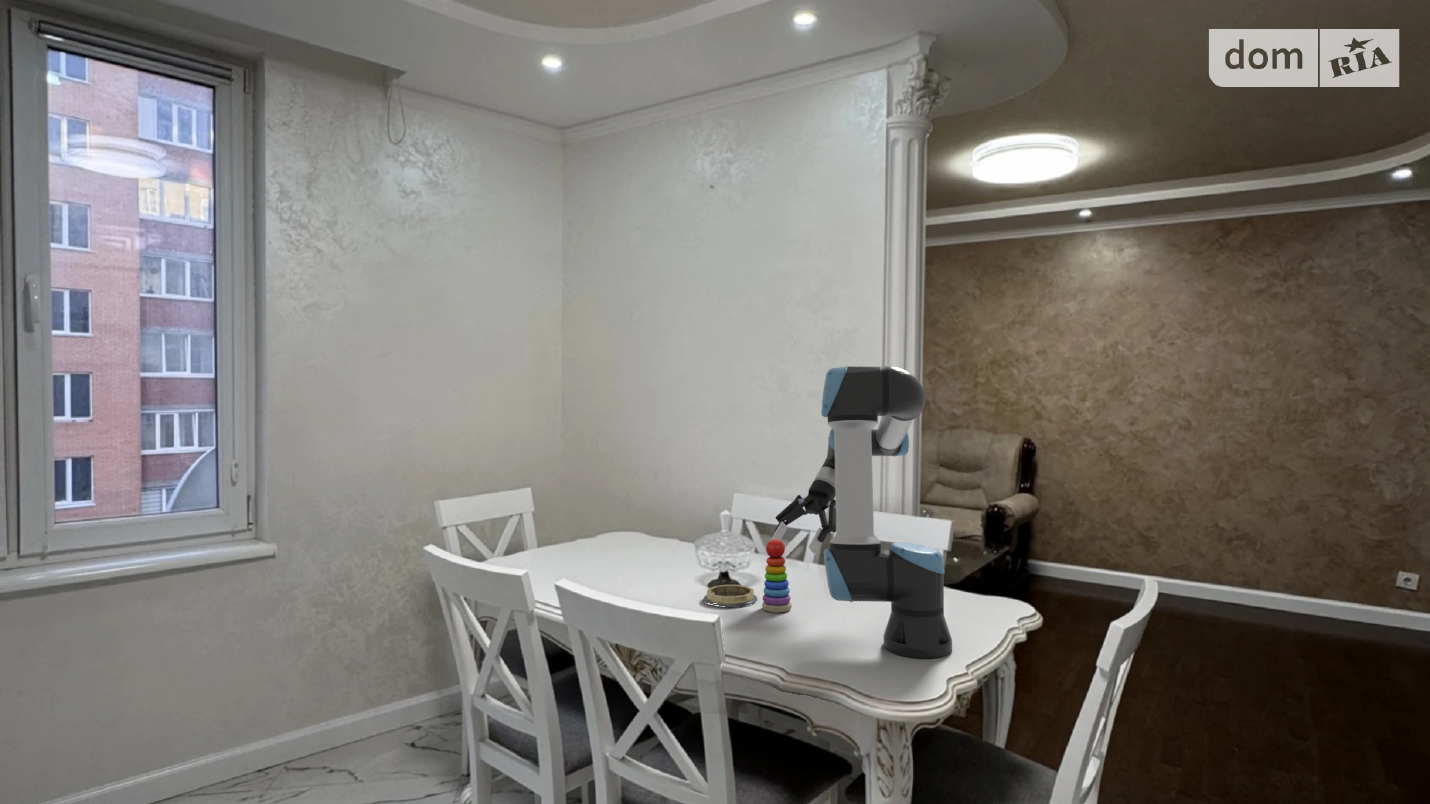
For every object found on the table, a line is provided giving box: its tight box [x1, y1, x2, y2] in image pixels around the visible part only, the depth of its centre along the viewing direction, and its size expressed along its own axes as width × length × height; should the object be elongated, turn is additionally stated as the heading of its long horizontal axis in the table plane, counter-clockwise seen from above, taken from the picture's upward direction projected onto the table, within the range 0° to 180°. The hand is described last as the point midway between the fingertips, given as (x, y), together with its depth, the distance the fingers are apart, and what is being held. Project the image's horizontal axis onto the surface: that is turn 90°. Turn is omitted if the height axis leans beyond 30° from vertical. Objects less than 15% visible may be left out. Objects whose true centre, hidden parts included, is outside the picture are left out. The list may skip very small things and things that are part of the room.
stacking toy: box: [761, 539, 793, 613], centre depth 203 cm, size 8×8×19 cm
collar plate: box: [703, 584, 758, 608], centre depth 213 cm, size 15×15×3 cm
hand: (792, 546), depth 209 cm, fingers open, 13 cm apart
